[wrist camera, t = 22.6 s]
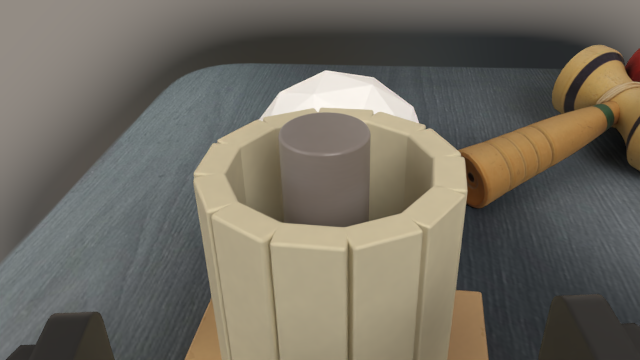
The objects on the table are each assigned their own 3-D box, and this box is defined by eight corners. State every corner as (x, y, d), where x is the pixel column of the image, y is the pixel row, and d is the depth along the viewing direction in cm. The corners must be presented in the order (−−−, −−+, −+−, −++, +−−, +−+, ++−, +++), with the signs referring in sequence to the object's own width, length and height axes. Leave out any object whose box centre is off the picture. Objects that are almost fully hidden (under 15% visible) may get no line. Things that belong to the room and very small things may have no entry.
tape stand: (123, 551, 17) (10, 245, 11) (226, 298, 25) (191, 51, 19) (504, 609, 15) (592, 291, 10) (477, 320, 24) (516, 61, 18)
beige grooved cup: (201, 463, 17) (153, 234, 13) (258, 300, 23) (237, 102, 18) (441, 495, 16) (473, 260, 12) (439, 317, 22) (461, 113, 17)
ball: (347, 250, 32) (407, 107, 31) (415, 303, 24) (494, 116, 24) (210, 200, 29) (273, 45, 29) (238, 243, 22) (323, 33, 21)
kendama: (534, 277, 27) (784, 131, 33) (522, 151, 25) (797, 16, 30) (431, 216, 34) (655, 103, 40) (412, 111, 31) (655, 6, 37)
